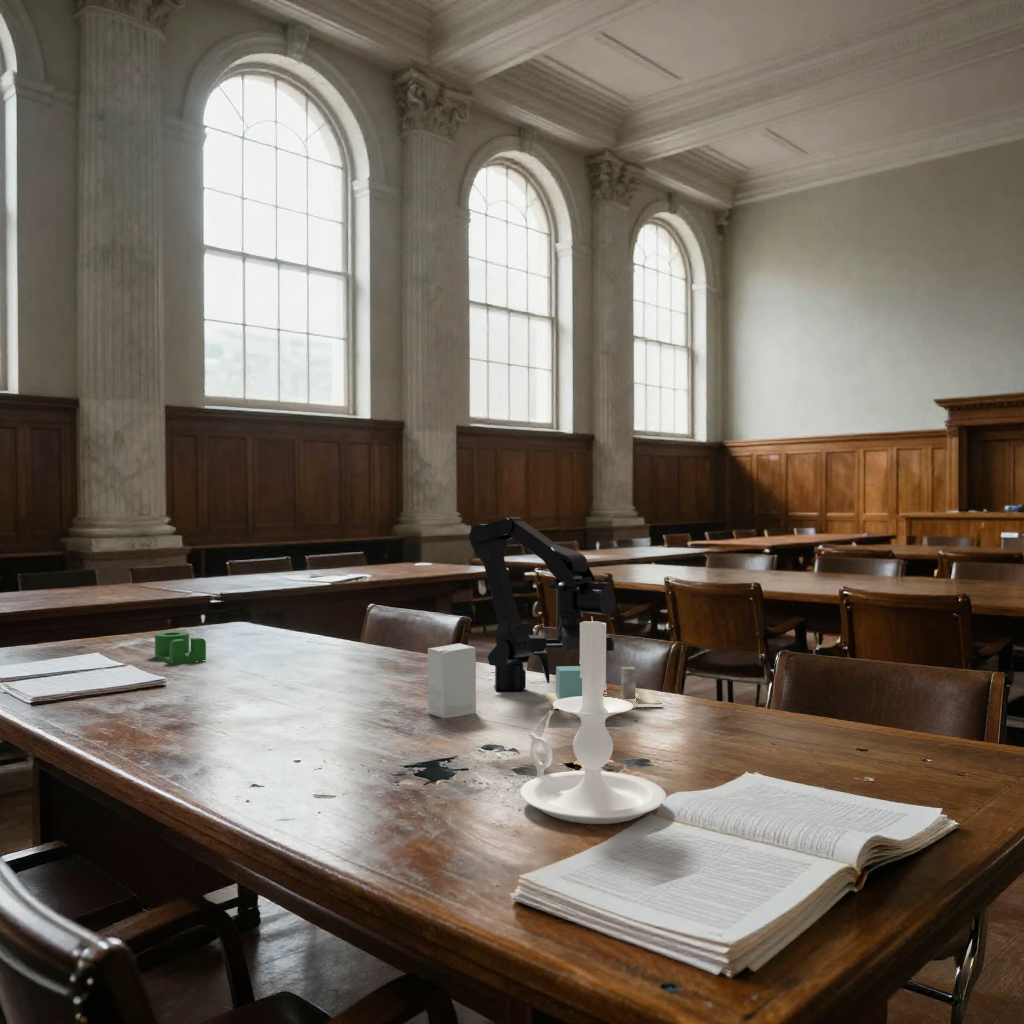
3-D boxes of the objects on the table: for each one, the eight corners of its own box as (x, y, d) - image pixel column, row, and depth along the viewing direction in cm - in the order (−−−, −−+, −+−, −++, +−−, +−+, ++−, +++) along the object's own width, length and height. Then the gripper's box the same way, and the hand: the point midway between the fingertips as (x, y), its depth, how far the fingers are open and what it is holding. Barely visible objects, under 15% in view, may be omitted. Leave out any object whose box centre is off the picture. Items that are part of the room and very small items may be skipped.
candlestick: (580, 776, 149) (581, 602, 149) (697, 819, 129) (698, 619, 129) (474, 801, 137) (475, 611, 136) (585, 853, 117) (586, 631, 116)
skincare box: (459, 714, 191) (460, 642, 191) (477, 719, 186) (477, 646, 186) (426, 720, 186) (426, 646, 186) (443, 726, 181) (443, 650, 181)
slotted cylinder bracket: (150, 656, 261) (150, 633, 261) (182, 653, 266) (182, 630, 266) (172, 665, 247) (172, 641, 247) (205, 661, 252) (205, 638, 252)
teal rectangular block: (559, 701, 199) (559, 670, 199) (555, 696, 204) (556, 666, 204) (583, 701, 199) (583, 670, 199) (579, 695, 204) (579, 666, 204)
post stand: (550, 710, 195) (550, 674, 195) (543, 697, 207) (543, 664, 207) (662, 707, 198) (662, 672, 197) (648, 695, 209) (648, 662, 209)
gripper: (531, 616, 192) (530, 691, 193) (619, 615, 194) (619, 689, 195) (525, 609, 204) (524, 680, 204) (609, 608, 205) (608, 679, 206)
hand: (569, 682), depth 202 cm, fingers open, 9 cm apart
